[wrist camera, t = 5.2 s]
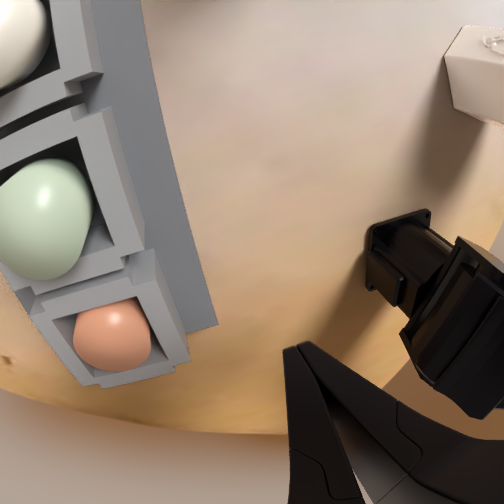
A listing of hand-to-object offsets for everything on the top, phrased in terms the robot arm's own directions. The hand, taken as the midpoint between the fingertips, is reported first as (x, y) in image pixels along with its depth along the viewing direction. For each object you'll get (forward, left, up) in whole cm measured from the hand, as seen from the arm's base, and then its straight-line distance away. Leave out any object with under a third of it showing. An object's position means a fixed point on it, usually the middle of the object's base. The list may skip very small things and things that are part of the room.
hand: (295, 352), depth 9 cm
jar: (-23, -7, -12) cm, 27 cm away
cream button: (+8, -12, -8) cm, 17 cm away
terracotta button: (+8, +4, -10) cm, 13 cm away
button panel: (+8, -4, -12) cm, 15 cm away
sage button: (+8, -4, -8) cm, 12 cm away
